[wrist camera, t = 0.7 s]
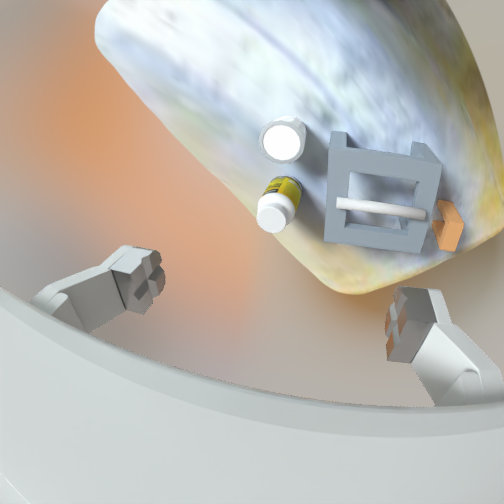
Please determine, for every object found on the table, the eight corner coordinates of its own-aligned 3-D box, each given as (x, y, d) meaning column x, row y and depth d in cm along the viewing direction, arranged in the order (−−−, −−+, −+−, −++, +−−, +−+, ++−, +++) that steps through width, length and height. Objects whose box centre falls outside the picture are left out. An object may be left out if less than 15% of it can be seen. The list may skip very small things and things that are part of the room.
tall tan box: (438, 199, 42) (449, 221, 36) (452, 202, 41) (464, 224, 36) (431, 225, 45) (440, 249, 40) (444, 227, 45) (454, 251, 39)
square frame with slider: (331, 131, 42) (327, 152, 33) (425, 143, 37) (446, 169, 29) (328, 210, 51) (322, 247, 42) (410, 220, 46) (421, 260, 38)
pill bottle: (284, 166, 48) (269, 194, 40) (309, 190, 50) (300, 222, 42) (262, 187, 52) (243, 218, 44) (286, 209, 54) (272, 243, 46)
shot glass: (316, 123, 42) (312, 133, 37) (300, 156, 46) (293, 171, 41) (278, 105, 42) (267, 112, 37) (263, 139, 46) (251, 152, 41)
